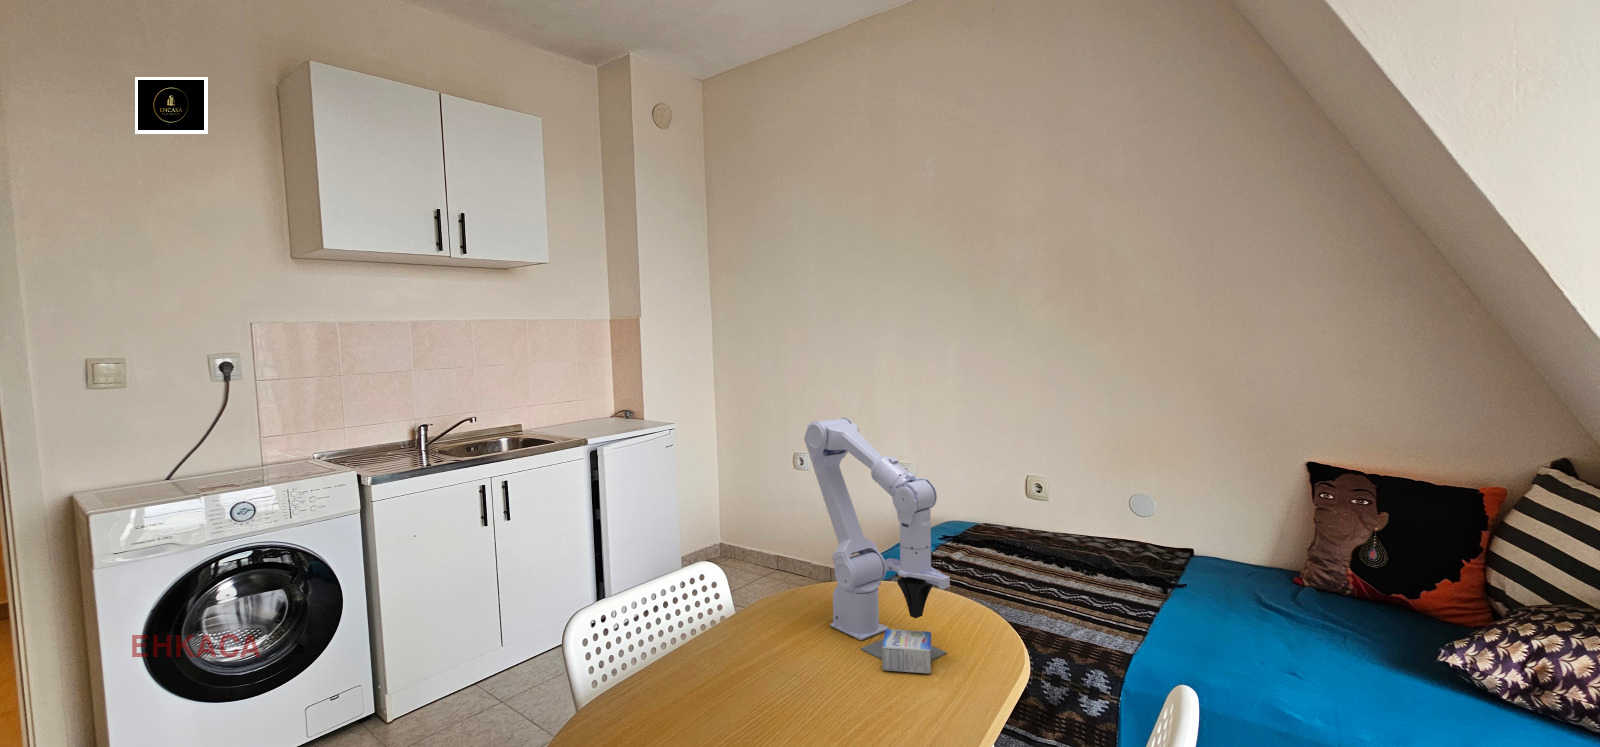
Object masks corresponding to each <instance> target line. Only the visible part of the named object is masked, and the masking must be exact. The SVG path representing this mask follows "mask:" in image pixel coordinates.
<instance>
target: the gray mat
mask: <svg viewBox="0 0 1600 747" xmlns="http://www.w3.org/2000/svg"><path fill="white" fill-rule="evenodd" d="M883 639H884V638H882V639H879V640H877V641H875V642H872V643H870V644H867V645H865V646H863V647H860V650H861V651H863V652H865V653H867V654H869V655H871V656H873V657H875V658H877V659H879V660H881V661H882V645H883ZM947 653H948V652H947V651H946V650H943V649H941V648H938V647H936V646H934V645H932V644H931V662H932V661H935V660H937V659H939V658H941V657H943V656H945V655H948V654H947Z"/></svg>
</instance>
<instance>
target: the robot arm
mask: <svg viewBox="0 0 1600 747" xmlns="http://www.w3.org/2000/svg"><path fill="white" fill-rule="evenodd" d="M803 439H804V443H805V446H806V448H807V452H808V454H809V455H808V456H809V457H810V461H811V463H812V468H813V471H814V474H815V476H816V480H817V482H818V483H817V484H818V485H819V488H820V492H821V494H822V497H823V501H824V504H825V507H826V509H827V513H828V515H829V519H830V521H831V524H832V527H833V531H834V534H835V536H836V539H837V542H838V546H837V547H836V550H835V551H834V553H833V554H832V556H831V559H832V561H833V565H834V578H835V580H836V582H837V585H836V586H835V587H834V590H833V593H832V622H831V623H829V624H830V627H831V628H834V629H836V630H838V631H840V632H842V633H845V635H846V634H847V635H849V636H850V637H853V638H855V639H856V640H860V641H863V640H865V639H868V638H870V637H873V636H875V635H878V634H880V633H883V632H885V630H886V629H889V627H888V626H886V625H884V624H882V623H880V612H879V611H880V608H879V605H880V603H879V601H880V600H879V599H880V598H879V587H880V586H881V583H882V582H881V581H882V580H883V579H884V578H885V576H886V574H887V572H889V571H892V572H894V573H897V575H898V576H899V577H901V578H898V579H897V581H896V583H897V585H898V587H899V589H900V590H901V592H902V594H903V596H904V598H905V602H906V605H907V610H908V613H909V617H911V618H913V619H918V618H920V617H922V616H923V614H924V609H925V605H926V603H927V599H928V597H929V594H930V592H931V590H932V588H934V586H936V587H938V589H941V590H945V589H948V588H950V587H951V586H950V584H951V583H950V582H951V578H950V576H949V575H946V574H944V573H942V571H941V572H940V571H939V570H937V569H936V568H934V567H932V535H931V534H932V533H931V532H932V530H931V529H932V528H931V526H932V525H931V509H933V507H934V506H935V505H936V503H937V500H938V499H937V498H938V496H937V491H936V487H935V486H934V485H933V483H932V482H931V481H930V480H929V479H928V478H923V477H922V478H919V477H917V476H915V475H914V473H912V472H910V471H909V470H907V469H906V468H905V467H904V466H903V465H901V464H900V463H899V459H898V458H897V457H896V456H893V457H892V456H891V455H890V456H889V455H888V456H883V455H882V454H881V453H880V452H879V451H878V450H877V449H876V448H875V447H874V446H873V445H872V444H871V443H870V442H869V441H868V440H867V439H866V438H865V437H864V435H862V434H861V433H860V429H859V426H858V425H857V424H856V423H855V422H853V420H852V419H850V418H849V417H842V418H837V419H828V420H814V421H811V422H810V423H809V424H808V426H807V428H806V431H805V435H804V437H803ZM848 453H849V454H850V455H851V456H853V457H854V458H855V459H857V461H859V462H860V463H861V464H863V465H864V466H866V467H867V468H868V469H869V470H870V474H871V478H872V480H873V481H874V482H875V483H877V484H878V485H879V486H880V487H881V488H882V489H883V490H884V491H885V492H886V493H887V494H889V496H891V498H892V504H893V506H894V508H895V510H896V513H897V516H896V517H897V519H898V522H899V559H897V558H893V557H891V558H887V559H885V558H884V556H883V555H882V554H881V552H880V551H879V549H878V548H877V545H876V543H875V542H874V541H872V540H871V539H869V538H868V537H866V536H865V535H864V532H863V530H862V528H861V525H860V522H859V519H858V516H857V514H856V510H855V507H854V504H853V502H852V499H851V496H850V493H849V490H848V487H847V484H846V482H845V479H844V475H843V473H842V470H841V466H840V464H841V462H842V460H844V458H845V457H846V456H847V454H848ZM851 555H852V556H851Z"/></svg>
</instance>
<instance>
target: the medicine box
mask: <svg viewBox="0 0 1600 747" xmlns="http://www.w3.org/2000/svg"><path fill="white" fill-rule="evenodd" d="M882 639H883V645H882V660H881V662H882V665H881V666H882V669H883V671H889V672H890V671H893V672H903V673H904V672H906V673H917V674H918V673H919V674H931V670H932V661H931V645H932V633H931V631H925V630H909V629H898V628H897V629H894V628H888V629H886V630H885V631H884V635H883V638H882Z"/></svg>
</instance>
